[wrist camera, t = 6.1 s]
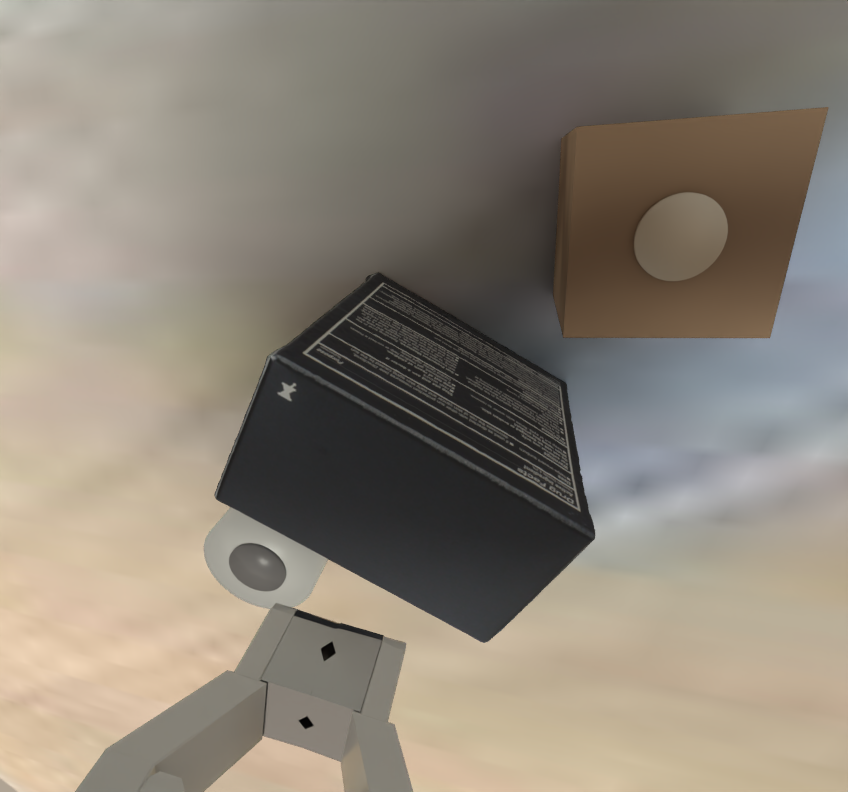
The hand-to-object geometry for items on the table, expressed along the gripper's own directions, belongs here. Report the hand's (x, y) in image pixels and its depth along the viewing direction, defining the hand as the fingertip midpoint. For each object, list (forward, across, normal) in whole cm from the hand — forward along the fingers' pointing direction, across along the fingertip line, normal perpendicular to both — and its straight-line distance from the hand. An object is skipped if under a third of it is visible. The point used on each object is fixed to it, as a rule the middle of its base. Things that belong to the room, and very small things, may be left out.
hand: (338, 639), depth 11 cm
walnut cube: (+15, -6, -9) cm, 18 cm away
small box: (+15, 0, 0) cm, 15 cm away
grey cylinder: (+15, +6, +9) cm, 18 cm away
